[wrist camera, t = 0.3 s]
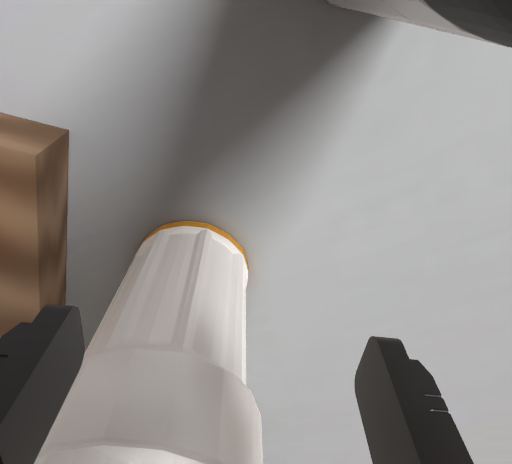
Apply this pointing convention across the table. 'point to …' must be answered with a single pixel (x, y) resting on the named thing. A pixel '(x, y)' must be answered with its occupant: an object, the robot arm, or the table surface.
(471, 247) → the table surface
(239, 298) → the cup
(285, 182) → the table surface
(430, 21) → the robot arm
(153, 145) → the table surface
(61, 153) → the walnut platform
